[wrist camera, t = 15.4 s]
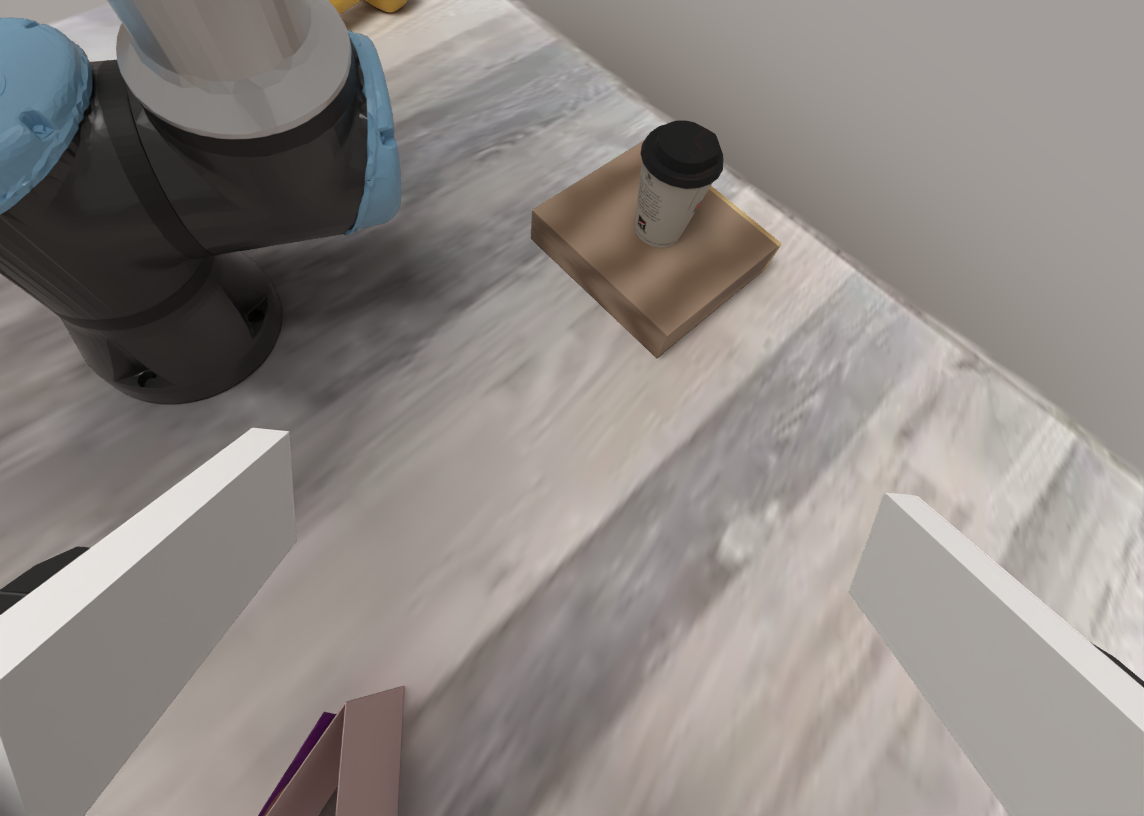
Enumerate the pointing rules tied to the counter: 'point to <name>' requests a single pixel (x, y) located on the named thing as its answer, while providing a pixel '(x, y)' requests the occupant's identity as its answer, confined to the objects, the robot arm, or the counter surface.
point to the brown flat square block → (649, 253)
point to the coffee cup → (674, 179)
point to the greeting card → (347, 762)
